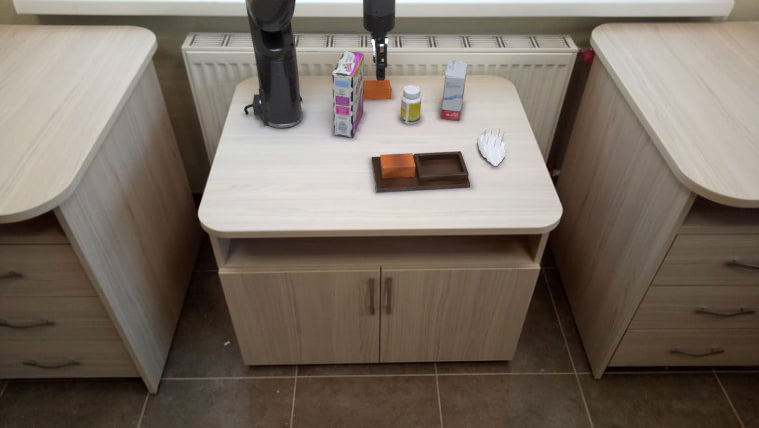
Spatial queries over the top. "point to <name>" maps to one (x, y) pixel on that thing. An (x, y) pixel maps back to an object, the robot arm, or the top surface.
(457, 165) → the brown wooden tray
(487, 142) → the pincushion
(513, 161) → the top surface
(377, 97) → the loose pad
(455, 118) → the ink box
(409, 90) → the supplement bottle
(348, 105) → the candy bar box
